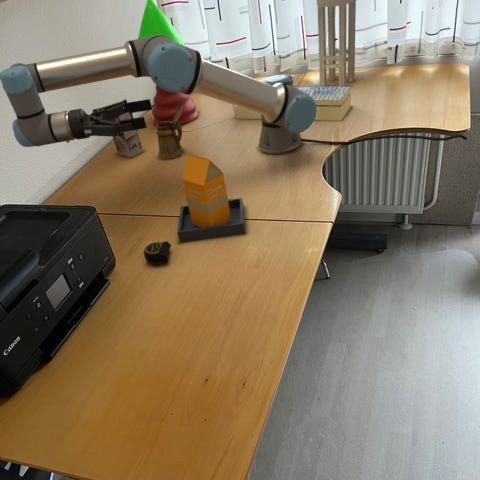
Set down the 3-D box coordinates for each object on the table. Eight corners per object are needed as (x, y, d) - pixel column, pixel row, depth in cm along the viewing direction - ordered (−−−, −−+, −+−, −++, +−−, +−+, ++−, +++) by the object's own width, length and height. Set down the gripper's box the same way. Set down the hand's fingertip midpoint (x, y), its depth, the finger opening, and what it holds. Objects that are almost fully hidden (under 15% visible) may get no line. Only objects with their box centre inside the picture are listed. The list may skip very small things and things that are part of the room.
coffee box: (144, 151, 188) (131, 109, 177) (131, 158, 185) (118, 115, 174) (130, 147, 193) (117, 106, 182) (117, 153, 190) (103, 112, 179)
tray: (243, 207, 145) (242, 197, 143) (245, 233, 134) (243, 223, 132) (183, 215, 147) (180, 206, 144) (179, 242, 136) (177, 232, 134)
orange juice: (213, 232, 136) (199, 165, 122) (192, 224, 141) (176, 159, 127) (232, 219, 139) (220, 153, 126) (210, 211, 144) (197, 147, 131)
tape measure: (169, 265, 128) (165, 254, 126) (144, 267, 129) (140, 256, 127) (172, 250, 133) (169, 239, 131) (148, 253, 134) (145, 241, 132)
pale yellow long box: (351, 106, 192) (351, 78, 185) (340, 121, 182) (340, 92, 175) (248, 105, 209) (245, 79, 202) (234, 118, 200) (230, 92, 193)
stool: (346, 91, 205) (347, -7, 181) (313, 89, 212) (310, -5, 189) (360, 78, 213) (363, -16, 190) (328, 77, 221) (327, -14, 197)
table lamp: (187, 127, 200) (159, 0, 170) (146, 127, 207) (112, 5, 176) (205, 109, 213) (183, -12, 183) (166, 109, 220) (138, -7, 189)
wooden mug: (186, 160, 176) (175, 110, 164) (155, 158, 181) (142, 109, 169) (197, 149, 182) (187, 100, 170) (166, 148, 187) (154, 100, 175)
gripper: (86, 122, 143) (156, 110, 141) (66, 158, 124) (146, 145, 123) (77, 95, 138) (149, 83, 136) (55, 129, 119) (138, 115, 118)
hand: (148, 113), depth 129 cm, fingers open, 13 cm apart
